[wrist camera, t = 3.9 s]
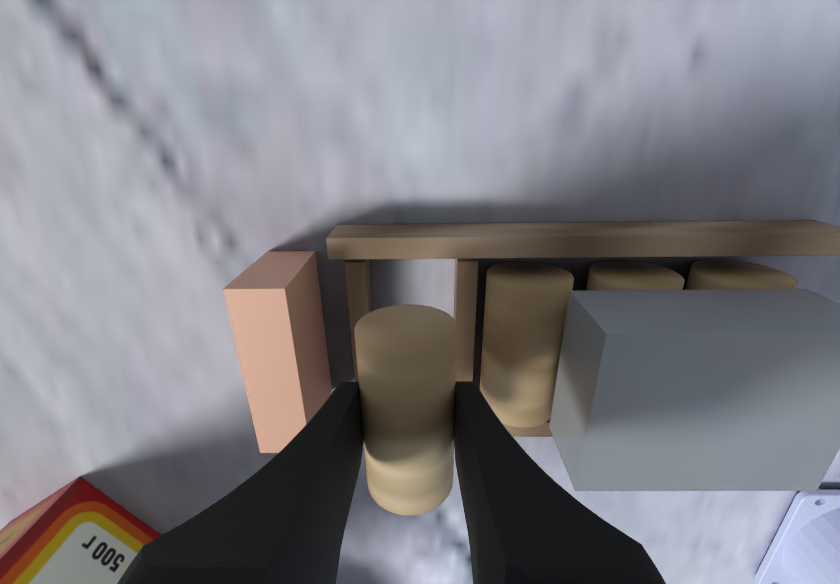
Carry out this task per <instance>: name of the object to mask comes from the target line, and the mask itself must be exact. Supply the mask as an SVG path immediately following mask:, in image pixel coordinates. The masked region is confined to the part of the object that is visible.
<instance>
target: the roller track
mask: <svg viewBox="0 0 840 584" xmlns="http://www.w3.org/2000/svg"><path fill="white" fill-rule="evenodd" d="M326 244H327V253H328V260H336V259H346V260H345V262H344V268H345V278H346V289H347V300H348V311H349V322H350V333H351V344H352V354H353V365H354V376H355V382H359V379H358V368H357V356H356V345H355V333H354V329H355V325H356V323H357V322H358V321H359V320H360V319H361V318H362V317H363V316H365V315H366V314H368V313H370V312H372V298H371V283H370V267H369V259H455V288H454V320H455V321H456V323H457V359H456V381H473V361H474V341H475V320H476V300H477V280H478V259H477V258H575V257H694V256H814V255H840V227H838V226H834V225H830V224H826V223H822V222H819V221H815V220H780V221H674V222H568V223H461V224H355V225H336V226H335V228H334V229H333V230H332V231H331V233H330V234H329V235H328V236H327V238H326ZM684 282H685V281H684V279H683V277H682V276H681V275H679V274H678V273H676V272H674V271H672V270H670V269H667V268H664V267H661V266H658V265H654V264H650V263H645V262H638V261H629V260H607V261H601V262H597V263H594V264H593V265H591V267H590V270H589V276H588V282H587V288H586V291H609V290H682V289H683V286H684ZM573 283H574V277H573V275H572V274H571V273H570V272H568V271H567V270H565V269H563V268H560V267H558V266H555V265H551V264H547V263H542V262H535V261H508V262H502V263H498V264H495V265H493V266H491V267H490V268H489V269H488V270H487V276H486V293H485V310H484V327H483V344H482V361H481V378H480V390H481V392H482V394H483V396H484V397H485V399H486V401H487V402H488V404H489V405H490V407H491V408H492V410H493V411H494V413H495V414H496V416H497V417H498V418H499V420H500V421H501V422H502V424H503V425H504V427H505V428H506V429H507V431H508V432H509V433H510V434H511V436H512V437H553V435H552V433H551V431H550V428H549V425H550V419H551V412H552V405H553V399H554V392H555V385H556V379H557V372H558V365H559V359H560V352H561V345H562V339H563V332H564V325H565V319H566V312H567V305H568V299H569V292H570V291H572V289H573ZM797 284H798V282H797V280H796V279H795V278H794V277H792V276H790V275H789V274H787V273H784V272H782V271H779V270H776V269H773V268H770V267H766V266H763V265H758V264H754V263H749V262H743V261H735V260H725V259H706V260H699V261H696V262H694V263H693V264H692V266H691V269H690V273H689V277H688V280H687V284H686V288H685V290H745V289H796V287H797Z"/></svg>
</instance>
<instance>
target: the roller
mask: <svg viewBox="0 0 840 584" xmlns="http://www.w3.org/2000/svg"><path fill="white" fill-rule="evenodd" d="M354 333H355V345H356V356H357V368H358V379H359V390H360V401H361V413H362V424H363V436H364V448H365V460H366V471H367V483H368V489H369V492H370V494H371V496H372V498H373V499H374V500H375V502H376V503H377V504H378V505H380V506H381V507H382V508H384V509H386V510H387V511H390V512H392V513H395V514H399V515H419V514H423V513H426V512H429V511H431V510H433V509H435V508H436V507H438V506H439V505H440V504H441V503H442V502H443V501H444V500H445V499H446V498H447V496H448V495H449V493H450V491H451V488H452V484H453V463H454V417H455V384H456V359H457V323H456V321H455V320H454V319H453V318H452V317H451V316H450V315H449V314H447V313H446V312H444V311H442V310H439V309H436V308H433V307H429V306H423V305H394V306H388V307H384V308H380V309H377V310H374V311H372V312H370V313H368V314H366V315H365V316H363V317H362V318H361V319H360V320H359V321H358V322H357V323H356V325H355V329H354Z"/></svg>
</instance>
